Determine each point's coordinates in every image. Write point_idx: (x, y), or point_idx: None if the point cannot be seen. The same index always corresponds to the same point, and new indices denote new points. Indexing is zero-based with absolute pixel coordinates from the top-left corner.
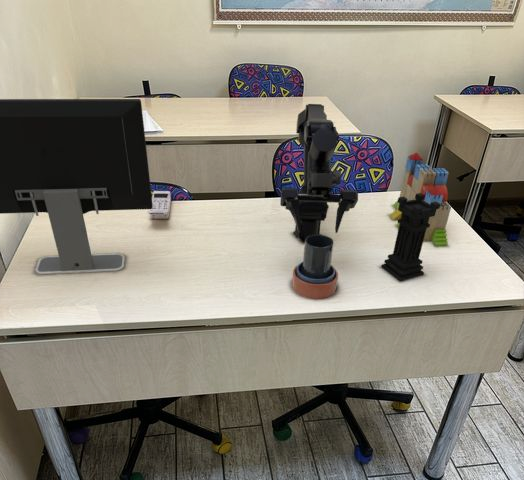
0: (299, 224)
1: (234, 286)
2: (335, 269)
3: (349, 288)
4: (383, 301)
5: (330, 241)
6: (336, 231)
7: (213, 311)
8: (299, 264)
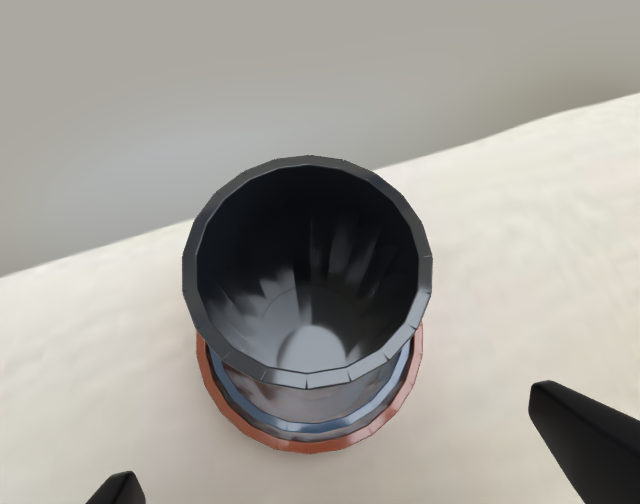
0: (598, 420)
1: (605, 264)
2: (207, 387)
3: (156, 361)
4: (28, 297)
5: (211, 314)
6: (125, 472)
7: (586, 129)
8: (404, 349)
